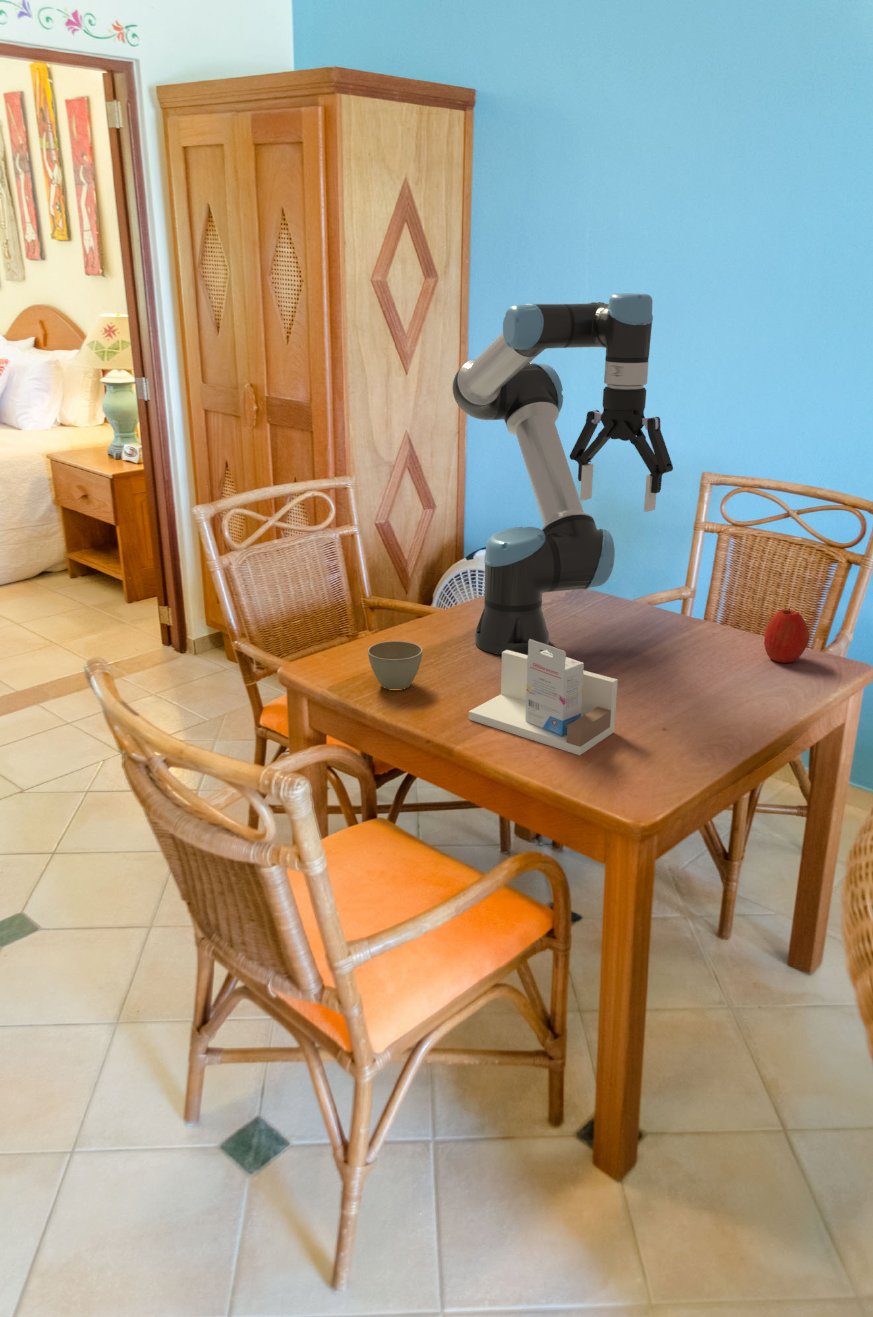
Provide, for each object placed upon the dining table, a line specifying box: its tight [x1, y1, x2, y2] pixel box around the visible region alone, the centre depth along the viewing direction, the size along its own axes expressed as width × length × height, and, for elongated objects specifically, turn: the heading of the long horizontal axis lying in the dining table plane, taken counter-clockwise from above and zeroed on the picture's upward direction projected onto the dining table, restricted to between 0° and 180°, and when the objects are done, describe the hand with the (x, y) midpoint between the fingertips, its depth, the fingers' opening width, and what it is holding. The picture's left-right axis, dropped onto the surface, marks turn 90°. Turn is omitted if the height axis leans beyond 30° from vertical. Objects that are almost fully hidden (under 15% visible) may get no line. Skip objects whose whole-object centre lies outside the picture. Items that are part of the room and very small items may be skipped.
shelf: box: [468, 650, 619, 756], centre depth 170 cm, size 22×11×10 cm, turn 51°
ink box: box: [525, 639, 585, 736], centre depth 166 cm, size 8×5×15 cm, turn 42°
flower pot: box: [367, 640, 424, 690], centre depth 187 cm, size 10×10×7 cm
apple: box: [763, 607, 810, 664], centre depth 199 cm, size 8×8×11 cm
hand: (616, 504), depth 187 cm, fingers open, 13 cm apart
